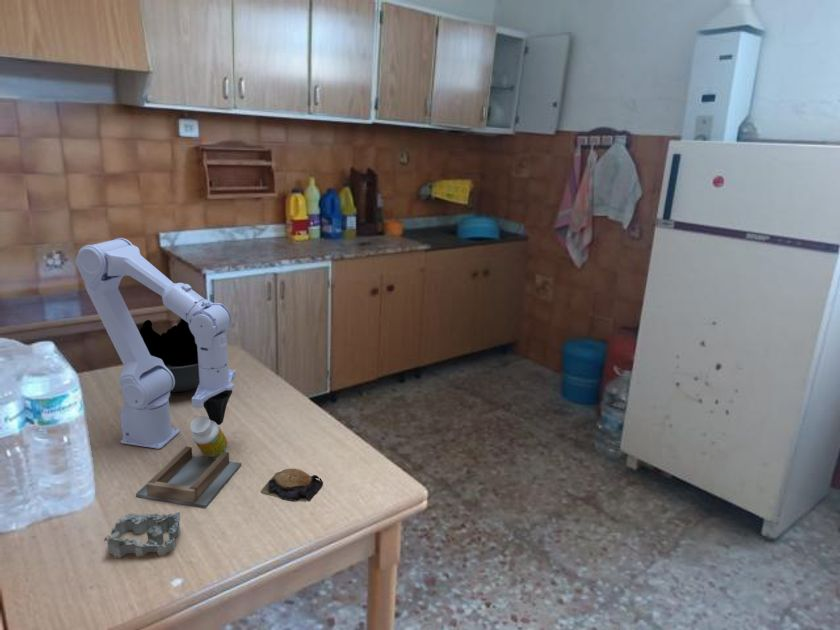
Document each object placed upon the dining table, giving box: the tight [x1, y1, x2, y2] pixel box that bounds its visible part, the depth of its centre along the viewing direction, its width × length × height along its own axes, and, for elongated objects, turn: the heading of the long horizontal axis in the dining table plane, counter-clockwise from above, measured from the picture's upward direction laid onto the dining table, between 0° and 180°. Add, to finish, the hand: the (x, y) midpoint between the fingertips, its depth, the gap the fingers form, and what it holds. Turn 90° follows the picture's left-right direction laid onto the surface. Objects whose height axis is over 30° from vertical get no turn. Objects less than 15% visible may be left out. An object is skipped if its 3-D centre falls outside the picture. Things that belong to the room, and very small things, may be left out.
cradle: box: [135, 446, 242, 509], centre depth 114 cm, size 14×14×3 cm
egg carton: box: [104, 511, 181, 559], centre depth 97 cm, size 11×8×4 cm
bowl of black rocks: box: [138, 318, 200, 393], centre depth 149 cm, size 20×20×19 cm
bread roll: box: [260, 468, 324, 503], centre depth 114 cm, size 11×8×4 cm
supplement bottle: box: [189, 415, 229, 459], centre depth 120 cm, size 5×5×10 cm
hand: (216, 423), depth 122 cm, fingers closed
